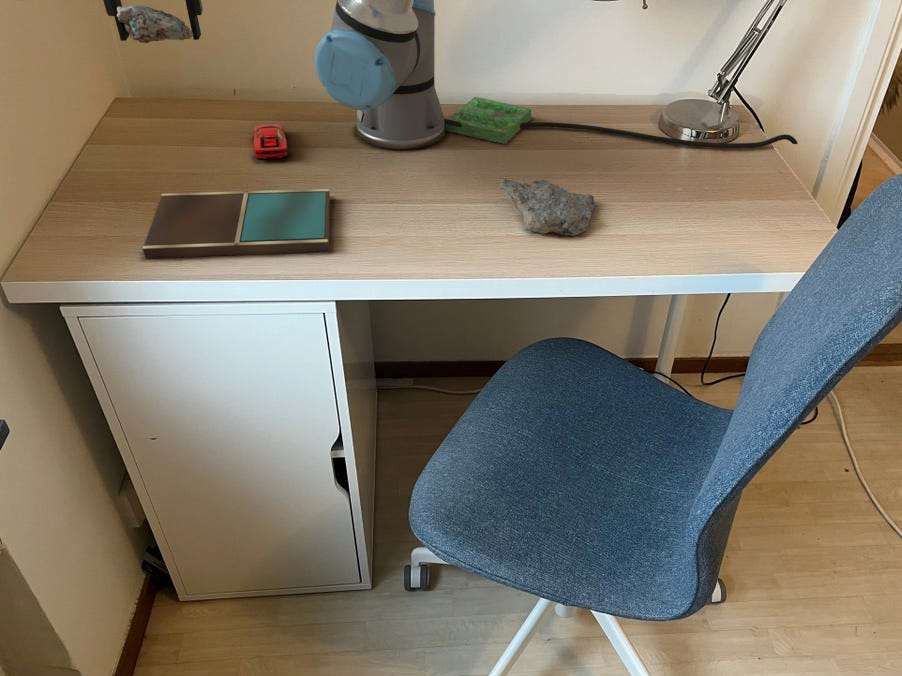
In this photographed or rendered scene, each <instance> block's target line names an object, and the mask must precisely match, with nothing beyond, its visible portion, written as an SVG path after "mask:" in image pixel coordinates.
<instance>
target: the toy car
mask: <svg viewBox="0 0 902 676" xmlns="http://www.w3.org/2000/svg"><path fill="white" fill-rule="evenodd" d="M284 128H285V127H284V126H283V125H282V123H262V124H256V125H255V126H254V128H253V131H254V132H253V133H254V136H253V137H254V138H253V148H254V156H255V159H263V160H265V159H278V158H280V159H281V158H283V157H289V150H288V143H287V139H286V134H285V129H284Z"/></svg>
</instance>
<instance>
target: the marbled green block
mask: <svg viewBox="0 0 902 676" xmlns="http://www.w3.org/2000/svg"><path fill="white" fill-rule="evenodd" d="M447 119H449V120H453V121H458V122H462V123H461V124H462V127H457V126H453V125H448V124H445V132H450V133H454V134H459V135H463V136H467V137H472V138H476V139H481V140H485V141H490V142H493V143H498V144H502V145H506V144H507V143H508V142H509V141H510V140H511V139H512V138H513V137H515V135H516V134H517V133H519V131H521V129H522V128H520V124H521V123H529V122H530V121H531V119H532V108H531V107H525V106H522V105H516V104H513V103H507V102H502V101H497V100H494V99H493V100H492V99H487V98H483V97H479V96H474V97H472V98H471V99H470V100H469V101H467V103H465V104H464V105H463V106H461V107H460V108H459V109H458V110H456V111H455V112H453V114H451V115H450V116H449V117H447Z"/></svg>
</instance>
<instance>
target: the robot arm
mask: <svg viewBox="0 0 902 676" xmlns="http://www.w3.org/2000/svg"><path fill="white" fill-rule="evenodd" d="M184 1H185V6H186V9H187V10H186V11H187V16H188V19H189V24H190V30H191V31H192V33H193V36H192V39H193V41H199V40H200V39H201V36H202V32H201V31H202V30H201V27H200V22H199V17H198V16H202V14H203V10H204V8H203V3H202V0H184ZM102 2H103V5H104V9H105V12H106V14H107V15H108V17H114V21H115V24H116V28H117V32H118V35H119V39H120V42H126V41H127V40H128V38H130V34H129V33H128V32H127V31H126V29H125V23H123V22H120V21H119V19H118V17H117V14H118V11H117V7H123V4H122V0H102ZM436 16H437V15H436V11H435V0H336V4H335V8H334V12H333V18H332V22H331V27H330V30H329V31H328V32H326V33H325V34H324V35H323V36H322V38H321V39H320V40H319V43H318V44H317V46H316V49H315V53H314V67H315V68H314V69H315V71H316V75H317V78H318V80H319V82H320V83H322V86H323V87H324V90H325V91H326V92H327V94H328V95H329V96H330V97H331V98H332V99H333V100H335V102H337V103H338V104H340V105H342V106H344V107H346V108H348V109H351V110H356V116H357V117H356V132H357V135H358V137H359V138H360V139H361V140H362V141H363V142H365V143H367V144H370V145H372V146H375V147H378V148H383V149H387V150H413V149H415V150H416V149H421V148H424V147H428V146H430V145H431V146H432V145H433V144H436V143H437V142H439V141H441V139H443V137H445V134H446V124H448V125H453V126H457V127H462V124H461V123H462V122H458V121H453V120H449V119H448V118H445V116H444V115H445V114H444V111H443V109H442V105H441V103H440V100H439V95H438V93H437V90H436V85H435V36H436V35H435V27H436V26H435V23H436V22H435V17H436ZM520 128H521V129H526V128H527V129H528V128H556V129H557V128H558V129H559V128H560V129H570V130H571V129H573V130H582V131H592V132H599V133H605V134H611V135H618V136H625V137H629V138H630V137H631V138H636V139H643V140H647V141H653V142H660V143H666V144H674V145H679V146H680V145H681V146H690V147H697V148H698V147H699V148H709V149H710V148H711V149H756V148H762V147H766V146H769V145H772V144H774V143H778V142H779V141H783V140H786V141H788V142H790V143H791V144H793V145H798V140H797V139H796V138H795V137H794V136H793V135H790V134H779V135H776V136H774V137H771V138H769V139H766V140H762V141H758V142H756V141H755V142H740V143H739V142H738V143H737V142H736V143H735V142H734V143H732V142H707V141H697V140H688V139H681V138H672V137H666V136H658V135H652V134H646V133H642V132H634V131H630V130H624V129H616V128H611V127H610V128H609V127H603V126H597V125H589V124H579V123H570V122H569V123H567V122H556V121H555V122H551V121H549V122H548V121H532V122H530V121H528V122H527V123H521V124H520Z"/></svg>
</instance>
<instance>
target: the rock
mask: <svg viewBox="0 0 902 676" xmlns="http://www.w3.org/2000/svg"><path fill="white" fill-rule="evenodd" d="M499 184H500V188H501V189H502V190H504V191H505V193H504V196H505V198H507V200H508V202H510V203H511V204H512V205H513V206H514V207H515V208H516V209H517V210H519V212H520V213H521V215H522V217H523V223H524V226H525V227H526V228H527V230H529V231H530V232H534V233H539V234H542V235H544V234H547V233H557V234H559V235H565V236H573V237H574V236H577V235H579V234H581V233H584V232H585V231H587V230H588V228H589V227H590V222H591V219H592V214H593V211H594V209H595V207H596V204H595V200H594V199H595V197H594V195H592V194H590V193H589V194H583V193H576V192H571V191H569V190H565V189H564V188H563V187H560V186H559V185H558V184H557V185H556V184H553V183H551V182H549V181H548V180H545V179H542V180H534V181H532V183H521V182H518V181H515V180H513V179H507V178H502V180H501V182H500V183H499Z"/></svg>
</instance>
